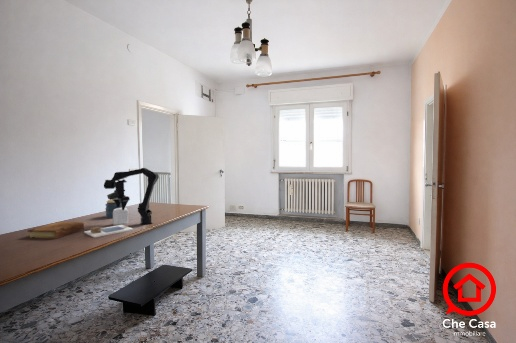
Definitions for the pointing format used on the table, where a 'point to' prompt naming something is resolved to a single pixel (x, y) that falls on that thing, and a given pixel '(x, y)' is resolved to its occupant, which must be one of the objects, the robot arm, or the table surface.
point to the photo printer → (120, 216)
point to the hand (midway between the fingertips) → (120, 209)
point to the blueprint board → (107, 230)
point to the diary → (56, 230)
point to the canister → (110, 208)
